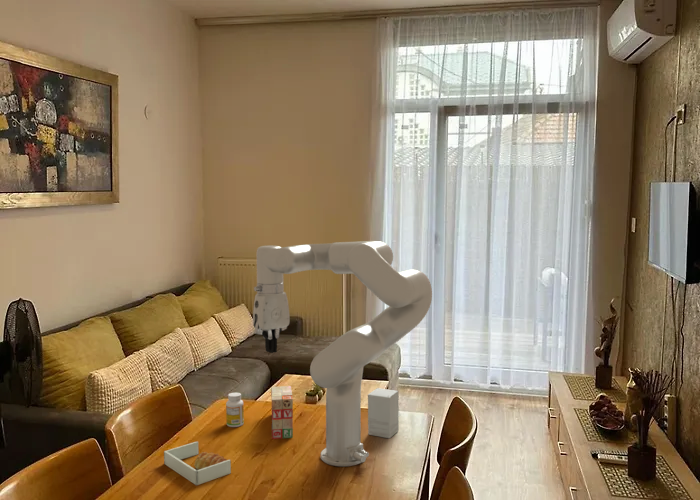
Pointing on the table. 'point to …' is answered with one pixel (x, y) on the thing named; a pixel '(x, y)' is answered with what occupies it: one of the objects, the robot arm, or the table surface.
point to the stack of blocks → (282, 412)
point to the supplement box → (383, 413)
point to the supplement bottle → (234, 410)
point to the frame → (195, 476)
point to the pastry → (207, 460)
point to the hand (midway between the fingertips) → (271, 351)
